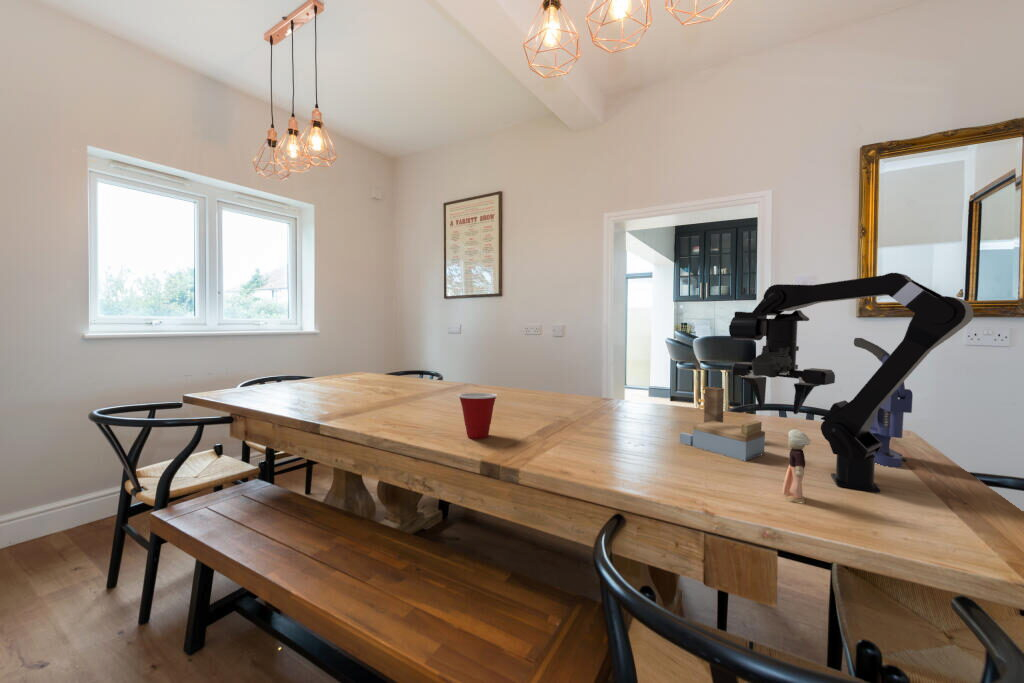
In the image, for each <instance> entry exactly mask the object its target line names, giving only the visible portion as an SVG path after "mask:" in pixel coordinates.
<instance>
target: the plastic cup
mask: <svg viewBox="0 0 1024 683" xmlns="http://www.w3.org/2000/svg"><path fill="white" fill-rule="evenodd" d="M457 397H458V398H459V400H460V403H461V409H462V413H463V414H462V415H463V421H464V426H465V430H466V431H465V432H466V435H467V438H469V439H472V440H482V439H486V438H488V437H489V434H490V429H491V428H490V427H491V425H492V419H493V418H492V417H493V411H494V405H495V403H496V402H495V401H496V399H497V397H498V394H497V393H489V392H470V393H469V392H468V393H460V394H458V395H457Z"/></svg>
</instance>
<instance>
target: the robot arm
mask: <svg viewBox="0 0 1024 683" xmlns="http://www.w3.org/2000/svg"><path fill="white" fill-rule="evenodd" d="M885 296H889V297H890V298H892V299H894V300H895V301H896V302H898V303H899V304H900V305H902V306H904V307H905V308H906V309H908V310H909V311H911V312H912V313H914V315H913V316H912V318H911V320H910V322H909V324H908V326H907V329H906V332H905V335H904V336H903V337H904V338H903V339H902V340H901V342H900V343H899V344H898V346H896V348H895V349H894V350H893V351H892V352H891V354H890V356H889V357H888V358H887V360H886V361H885V362H884V363H883V364H882V363H881V365H880V367H879V368H878V369H877V370H876V371H875V373H873V374H872V376H871V377H870V379H869V380H868V381H867V382H866V383H865V384H864V385H863V387H861V389H860V390H859V391H858V392H857V394H856V395H855V396H854V397H853V399H851V400H850V401H849V402H848V401H847V400H842V401H841V400H840V401H838V402H835V403H833V404H832V405H831V407H830V409H829V410H828V412H827V413H826V415H824V416H821V418H820V420H822V423H821V425H820V431H821V435H822V436H823V438H824V439H825V440H826V441H827V442H828V444H829V446H830V450H831V451H832V454H833V455H836V462H835V465H836V467H835V473H834V472H833V473H830V477H831V478H832V480H833V482H834V484H835V485H836V486H837V487H841V488H848V489H854V490H861V491H866V492H874V493H879V494H881V488H879V487H878V485H877V484H876V483H875V465H876V464H875V456H874V455H873V454H874V453H878V451H879V450H880V448H881V446H882V443H881V442H880V441H879V440H878V439H877V438H876V437H875V436H874V435H873V434H872V433H871V432H870V431H869V430H870V428H871V426H872V424H873V423H874V420H875V417H876V414H877V412H878V410H879V408H880V407H881V406H882V405H883V404H884V403H885V402H886V401H887V400H888V398H889V397H890V396H891V395H892V394H893V393H894V392H895V391H896V389H897V388H898V387H899V386H900V385H901V384H902V383H903V382H904V383H905V380H907V378H908V377H910V375H911V374H912V373H913V372H914V370H915V369H917V367H918V366H919V365H920V364H921V363H922V362H923V361H924V359H926V357H927V356H928V355H929V354H930V353H931V352H932V351H933V350H934V349H935V348H937V347H938V346H940V345H941V344H942V343H944V342H945V341H947V340H948V339H950V338H951V337H953V336H955V334H957V333H958V332H959V331H960V330H962V329H964V328H965V327H966V326H967V325H968V324H969V323H970V322H971V321H972V320H973V318H974V313H975V312H974V309H973V306H972V305H971V304H970V303H969V302H968V301H966V300H964V299H962V298H958V297H955V296H953V297H952V296H947V295H945V296H944V295H941V294H940V293H938V292H936V291H934V290H932V289H931V288H929V287H927V286H925V285H923V284H921V283H919V282H917V281H915V280H913V278H911V277H910V276H908V275H907V274H905V273H904V274H903V273H898V272H888V273H886V274H883V275H875V276H867V277H863V278H855V279H854V278H853V279H847V280H841V281H839V280H838V281H832V282H826V283H818V284H784V283H783V284H782V283H781V284H780V283H779V284H773V285H771V286H769V287H768V288H767V289H766V290H765V292H764V294H763V299H762V300H761V301H760V302H759V303H758V305H756V307H755V308H754V309H753V311H752V312H750V311H747V312H746V311H734V316H733V317H732V319H731V320H730V324H729V326H728V332H729V336H730V338H731V339H732V340H737V341H738V340H741V341H761V340H762V339H763V337H765V345H762V350H761V353H760V354H759V355H757V356H756V357H755V358H754V359H752V360H751V362H748V361H746V362H745V361H744V362H734V364H732V367H731V375H732V376H740V377H741V378H742V380H744V381H746V382H747V383H748V384H749V385H750V387H751V389H752V390H753V393H754V395H755V399H756V402H757V404H758V407H759V409H764V407H765V402H766V388H767V377H768V378H771V379H772V378H777V377H780V378H787V379H797V380H798V382H796V383H793V386H794V392H795V393H794V399H793V414H794V415H797V414H799V412H800V411H801V408H802V407H803V405H804V403H805V401H806V399H807V397H809V395H810V394H811V392H812V390H813V389H814V388H816V387H820V386H828V385H832V384H835V382H836V374H835V372H834V371H833V370H832V369H826V368H814V367H813V368H812V367H811V368H805V369H803V370H800V369H799V365H798V364H797V352H799V349H800V346H798V345H797V342H798V322H809V321H810V317H809V316H807V315H805V313H803V312H802V310H800V309H804V308H807V307H810V306H813V305H816V304H821V303H829V302H836V301H837V302H838V301H839V302H840V301H848V300H855V299H856V300H857V299H865V298H867V299H868V298H877V297H885ZM792 311H793V312H792ZM784 312H791V313H784ZM769 316H775V317H774V318H768V317H769Z"/></svg>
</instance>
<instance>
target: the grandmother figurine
mask: <svg viewBox="0 0 1024 683" xmlns="http://www.w3.org/2000/svg"><path fill="white" fill-rule="evenodd" d="M787 444H788V446H789V447H790V448H791V449H790V450H789V462H788V463H789V464H788V467H787V470H786V474H785V477H784V480H783V485H782V491H781V492H782V494H783V495H786V497H785V498H786V499H785V500H786V501H788V500H790V501H794V502H802V503H801V504H805V503H806V500H805V499H804V496H803V484H802V482H803V480H804V476H805V468H806V458H805V452H804V450H803V449H804V448H805V446H809V445H811V440H810V439H809V437H808V435H807V434H806V433H805V432H803V431H802V430H800V429H796V428H795V429H791V430H789V432H788V440H787ZM790 501H789V502H790ZM794 502H793V503H794ZM804 502H805V503H804Z"/></svg>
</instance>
